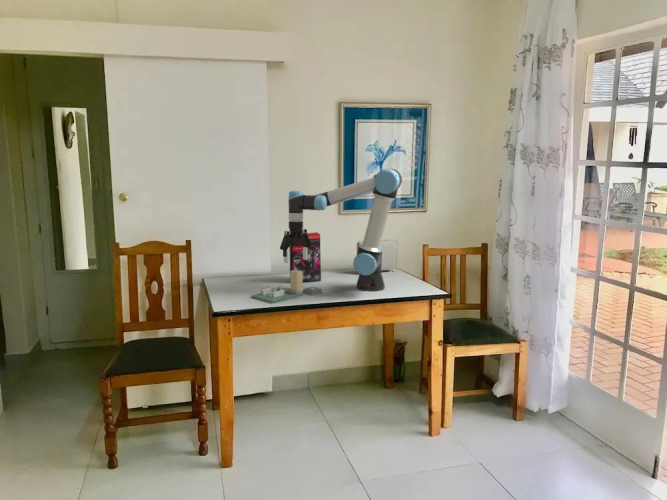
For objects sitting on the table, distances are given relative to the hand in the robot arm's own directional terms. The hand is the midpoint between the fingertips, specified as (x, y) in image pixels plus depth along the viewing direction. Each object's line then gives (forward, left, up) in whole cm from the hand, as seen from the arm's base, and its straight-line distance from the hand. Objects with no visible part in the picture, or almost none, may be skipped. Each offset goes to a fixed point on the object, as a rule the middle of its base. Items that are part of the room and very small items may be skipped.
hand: (295, 261), depth 280 cm
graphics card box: (+11, -17, -16) cm, 26 cm away
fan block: (-11, -1, -15) cm, 19 cm away
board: (-4, +17, -15) cm, 23 cm away
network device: (-4, -63, -16) cm, 65 cm away
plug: (0, 0, -15) cm, 15 cm away
